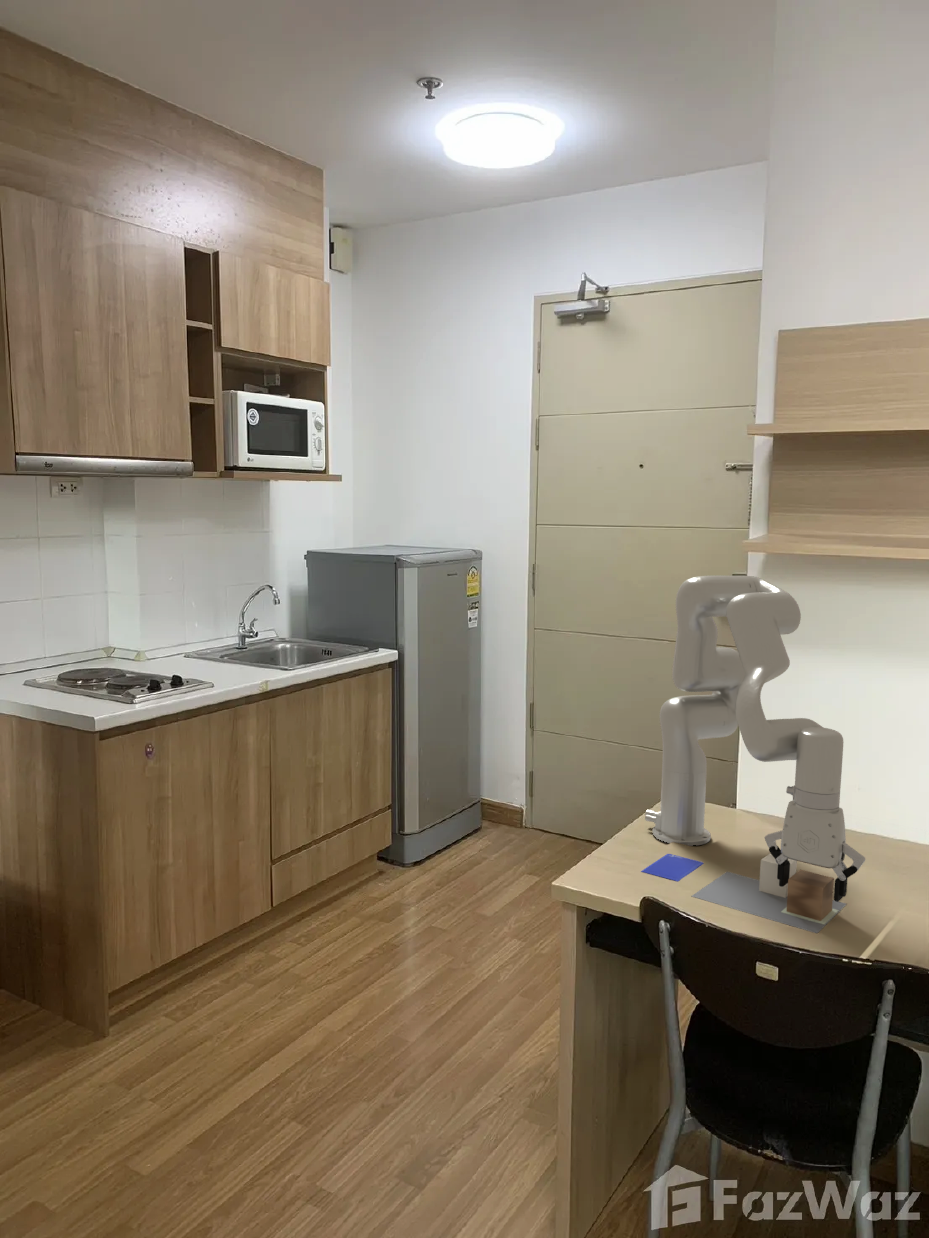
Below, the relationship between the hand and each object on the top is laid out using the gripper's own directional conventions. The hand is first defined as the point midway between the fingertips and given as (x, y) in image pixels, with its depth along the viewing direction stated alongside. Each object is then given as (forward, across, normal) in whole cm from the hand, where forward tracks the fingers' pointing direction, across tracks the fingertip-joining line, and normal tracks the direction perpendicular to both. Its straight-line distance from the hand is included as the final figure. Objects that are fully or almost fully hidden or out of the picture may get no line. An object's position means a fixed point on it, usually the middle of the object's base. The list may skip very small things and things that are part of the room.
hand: (810, 891), depth 164 cm
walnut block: (+4, 0, 0) cm, 4 cm away
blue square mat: (+5, -28, +3) cm, 29 cm away
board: (+4, -7, 0) cm, 9 cm away
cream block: (+4, -8, +6) cm, 10 cm away
